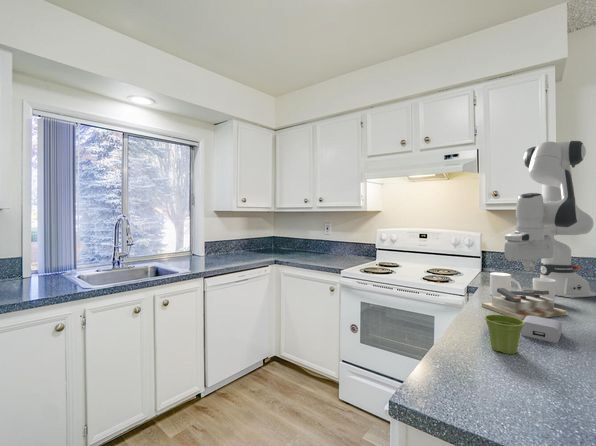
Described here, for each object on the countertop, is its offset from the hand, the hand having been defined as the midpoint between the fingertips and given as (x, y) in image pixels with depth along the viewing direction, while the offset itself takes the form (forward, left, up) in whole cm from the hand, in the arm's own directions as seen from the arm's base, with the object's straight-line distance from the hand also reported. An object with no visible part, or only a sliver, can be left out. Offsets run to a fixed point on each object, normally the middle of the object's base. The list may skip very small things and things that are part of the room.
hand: (529, 270), depth 119 cm
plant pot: (+31, +32, -17) cm, 48 cm away
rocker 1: (+7, -1, -10) cm, 13 cm away
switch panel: (+1, -3, -16) cm, 17 cm away
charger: (+10, +20, -17) cm, 28 cm away
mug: (-6, -24, -17) cm, 30 cm away
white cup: (-16, -14, -17) cm, 27 cm away
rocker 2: (+1, -3, -10) cm, 11 cm away
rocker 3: (-6, -4, -10) cm, 13 cm away
